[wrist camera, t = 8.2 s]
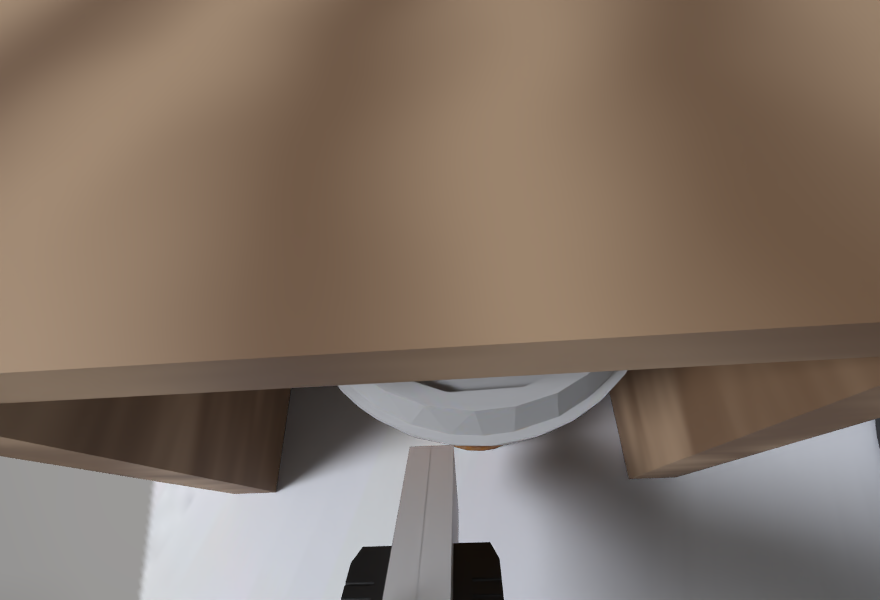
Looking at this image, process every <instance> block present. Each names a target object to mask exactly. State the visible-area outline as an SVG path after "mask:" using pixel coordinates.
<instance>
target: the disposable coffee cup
mask: <svg viewBox="0 0 880 600" xmlns="http://www.w3.org/2000/svg"><path fill="white" fill-rule="evenodd" d="M626 372H627V370H620V371H602V372H583V373H564V374H545V375H526V376H507V377H489V378H470V379H451V380H432V381H413V382H395V383H376V384H357V385H338V387H339V388H340V390H341V391H342V392H343V393H344V394H345V395H346V396H347V397H348V398H350V399H351V400H352V401H353V402H354V403H355V404H356V405H357V406H358V407H359V408H361V409H362V410H364V411H365V412H367V413H368V414H370V415H371V416H372V417H374V418H375V419H377V420H379V421H381V422H383V423H385V424H387V425H389V426H391V427H393V428H395V429H398V430H400V431H402V432H404V433H406V434H408V435H410V436H413V437H416V438H419V439H424V440H429V441H434V442H439V443H444V444H449V445H453V446H454V447H457V448H461V449H465V450H474V451H484V450H490V449H495V448H498V447H500V446H503V445H508V444H511V443H515V442H519V441H523V440H526V439H530V438H534V437H537V436H540V435H543V434H546V433H549V432H551V431H553V430H555V429H557V428H559V427H561V426H563V425H565V424H567V423H569V422H571V421H573V420H575V419H577V418H578V417H580V416H582V415H583V414H585V413H586V412H587V411H588V410H590V409H591V408H592V407H593V406H595V405H596V404H597V403H598V402H600V401H601V400H602V399H603V398H604V397H605V396H606V395H607V393H608V392H609V391H610V390H611V389H612V388H613V387H614V386H615V385H616V384H617V383H618V382H619V380H620V379H621V378H622V377H623V376H624V375H625V374H626Z"/></svg>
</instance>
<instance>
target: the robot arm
mask: <svg viewBox="0 0 880 600" xmlns="http://www.w3.org/2000/svg"><path fill="white" fill-rule="evenodd" d="M875 420H876V431H877V438H878V442H879V447H880V418H877V419H875ZM341 600H504V598H503V587H502V578H501V569H500V559H499V557H498V555H497V554H496V552H495V550H494V548H493V547H492V545H491V543H490V542H482V543H458V499H457V486H456V473H455V460H454V447H453V445H442V446H417V447H410V449H409V454H408V460H407V465H406V471H405V476H404V482H403V488H402V493H401V499H400V504H399V510H398V515H397V521H396V527H395V532H394V538H393V543H392V546H376V547H362V549H361V550H360V551H359V553H358V554H357V556H356V557H355V558H354V560H353V561H352V563H351V565H350V568H349V572H348V576H347V579H346V585H345V586H344V590H343V594H342V597H341Z"/></svg>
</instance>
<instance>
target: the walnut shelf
mask: <svg viewBox="0 0 880 600" xmlns="http://www.w3.org/2000/svg"><path fill="white" fill-rule="evenodd" d="M620 370H627V372H626V374H625V375H624V376H623V377H622V378H621V379H620V380H619V382H618V383H617V384H616V385H615V386H614V387H613V388H612V389H611V390H610V391H609V392H610V397H611V401H612V406H613V410H614V415H615V419H616V424H617V428H618V433H619V437H620V442H621V446H622V451H623V455H624V460H625V464H626V468H627V473H628V477H629V479H642V478H669V477H678V476H682V475H685V474H688V473H692V472H695V471H699V470H702V469H706V468H709V467H712V466H716V465H719V464H723V463H726V462H730V461H733V460H736V459H740V458H743V457H747V456H750V455H754V454H757V453H760V452H764V451H767V450H771V449H774V448H778V447H781V446H784V445H788V444H791V443H795V442H798V441H802V440H805V439H808V438H812V437H815V436H819V435H822V434H826V433H829V432H832V431H836V430H839V429H843V428H846V427H849V426H853V425H856V424H860V423H863V422H867V421H870V420H873V419H877V418H880V0H0V456H4V457H10V458H16V459H22V460H28V461H35V462H40V463H47V464H53V465H59V466H66V467H72V468H78V469H84V470H90V471H96V472H102V473H109V474H116V475H121V476H127V477H133V478H140V479H146V480H152V481H158V482H164V483H170V484H177V485H183V486H189V487H195V488H201V489H208V490H214V491H220V492H226V493H232V494H242V493H269V492H276V488H277V481H278V474H279V467H280V460H281V454H282V447H283V440H284V433H285V426H286V419H287V413H288V406H289V399H290V392H291V388H301V387H319V386H338V385H357V384H376V383H395V382H413V381H432V380H451V379H470V378H489V377H507V376H526V375H545V374H564V373H583V372H602V371H620Z"/></svg>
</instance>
